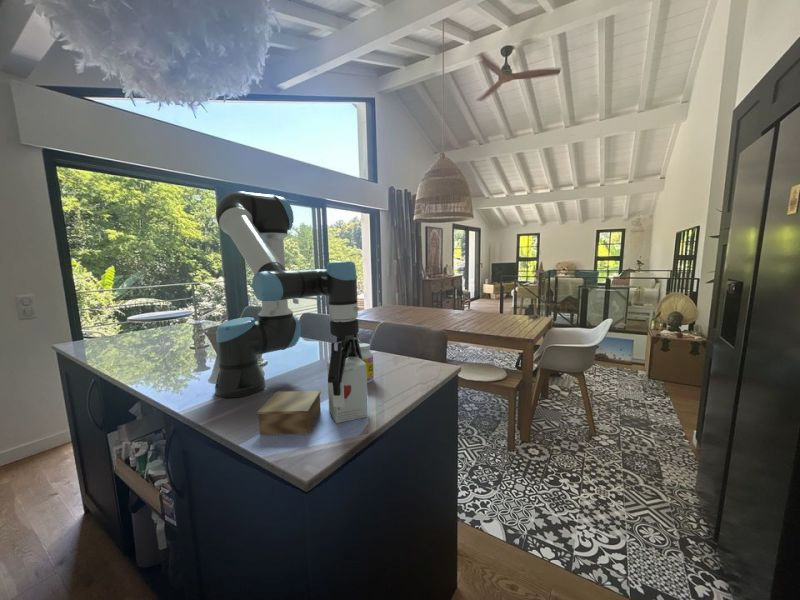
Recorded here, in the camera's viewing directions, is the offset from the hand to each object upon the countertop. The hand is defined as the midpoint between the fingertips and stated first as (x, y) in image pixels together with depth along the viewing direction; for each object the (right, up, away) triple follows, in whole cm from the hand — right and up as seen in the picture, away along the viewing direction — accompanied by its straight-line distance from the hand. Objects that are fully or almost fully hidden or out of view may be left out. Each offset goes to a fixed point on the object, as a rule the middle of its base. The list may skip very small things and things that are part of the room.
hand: (348, 395), depth 93 cm
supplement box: (0, -5, +1) cm, 6 cm away
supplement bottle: (+2, -2, +26) cm, 26 cm away
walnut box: (-14, -6, -3) cm, 16 cm away
